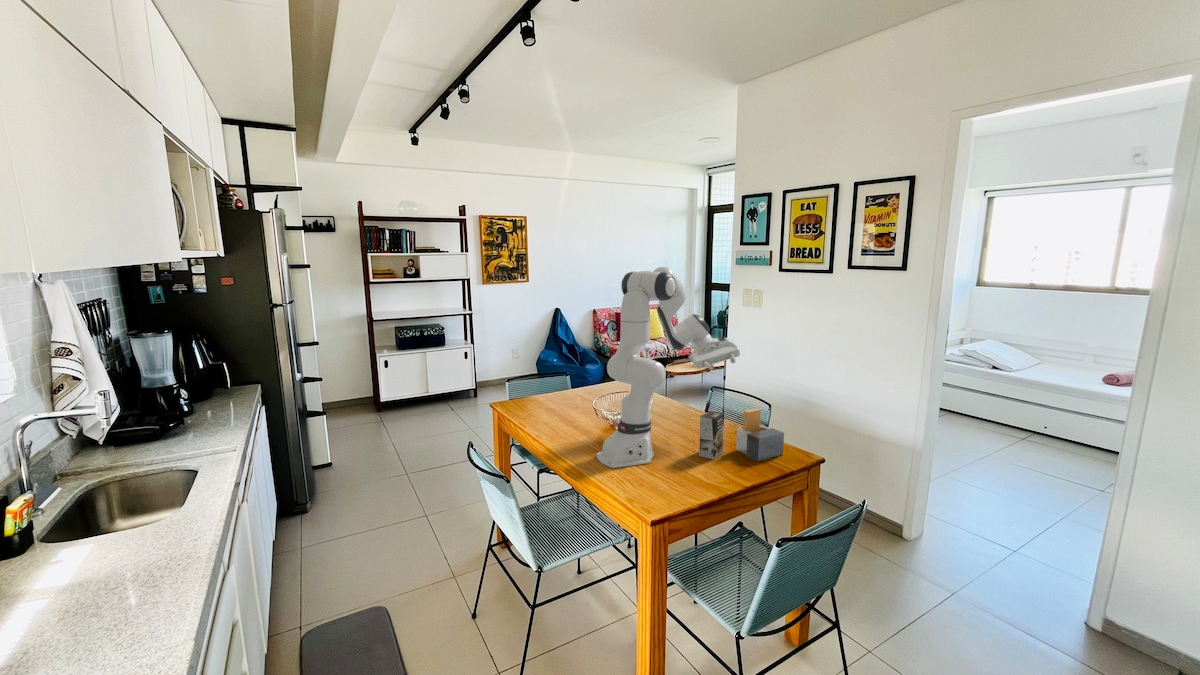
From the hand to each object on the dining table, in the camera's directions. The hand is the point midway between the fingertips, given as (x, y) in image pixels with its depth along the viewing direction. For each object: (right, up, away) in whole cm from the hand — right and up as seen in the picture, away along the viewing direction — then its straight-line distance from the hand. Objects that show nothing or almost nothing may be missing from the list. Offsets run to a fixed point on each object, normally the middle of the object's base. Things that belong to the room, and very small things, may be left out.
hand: (723, 364), depth 200 cm
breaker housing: (+12, -34, -9) cm, 37 cm away
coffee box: (-7, -35, -10) cm, 36 cm away
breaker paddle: (+10, -27, -6) cm, 30 cm away
